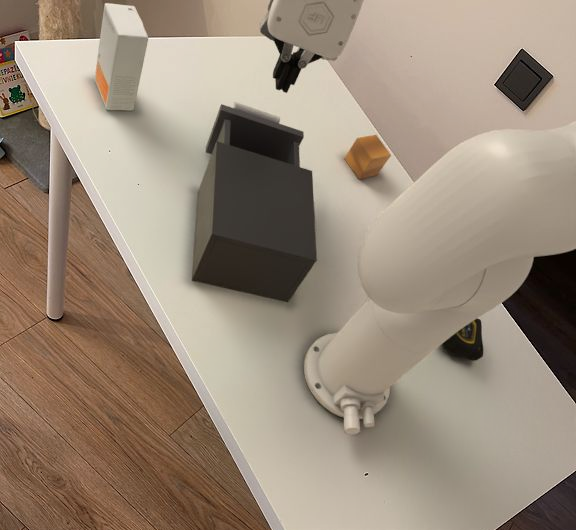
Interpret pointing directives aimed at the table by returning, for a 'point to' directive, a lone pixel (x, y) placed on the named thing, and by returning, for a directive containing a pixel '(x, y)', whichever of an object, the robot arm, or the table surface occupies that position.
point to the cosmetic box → (120, 56)
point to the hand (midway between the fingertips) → (280, 84)
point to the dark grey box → (255, 133)
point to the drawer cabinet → (254, 224)
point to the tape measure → (466, 342)
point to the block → (367, 156)
